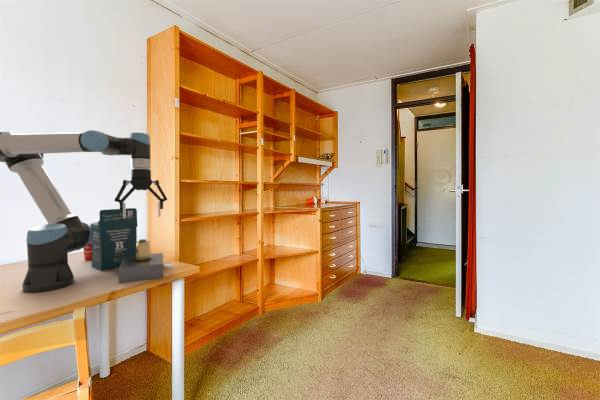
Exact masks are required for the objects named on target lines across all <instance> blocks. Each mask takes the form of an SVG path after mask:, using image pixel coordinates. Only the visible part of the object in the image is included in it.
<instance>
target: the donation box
mask: <svg viewBox="0 0 600 400" xmlns="http://www.w3.org/2000/svg"><path fill="white" fill-rule="evenodd" d="M89 226H90V227H91V228H92V231H93V238H92V260H91V268H93V269H95V270H97V271H99V270H100V272H105V270H106V271H110V270H113V269H114V270H115V268H116V269H119V267H120V265H121V263H122V261H123V259H124V257H125V256H133V255H136V242H138V239H137V238H138V235H137V233H138V232H137V231H138V230H137V228H138V209H137V208H136V207H132V208H130V207H129V208H126V218H123V210H120V208H113V209H112V208H111V209H100V210H99V220H98V221H96V222H92V223H90V225H89Z"/></svg>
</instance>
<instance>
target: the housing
mask: <svg viewBox="0 0 600 400" xmlns="http://www.w3.org/2000/svg"><path fill="white" fill-rule="evenodd" d="M149 255H150V260H149V261H145V262H136V255H133V256H125V257H124V259H123V261H122V263H121V265H120V267H119V268H118V284H123V283H124V284H125V283H133V282H140V281H142V282H143V281H148V280H157V279H164V254H163V252H159V253H149Z"/></svg>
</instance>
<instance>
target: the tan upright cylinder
mask: <svg viewBox="0 0 600 400" xmlns="http://www.w3.org/2000/svg"><path fill="white" fill-rule="evenodd" d="M149 254H150V241H149V240H147V239H145V238H142V239H139V240H138V241H137V242H136V262H145V261H149V260H150V255H149Z"/></svg>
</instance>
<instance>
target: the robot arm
mask: <svg viewBox="0 0 600 400" xmlns="http://www.w3.org/2000/svg"><path fill="white" fill-rule="evenodd" d="M150 139H151V138H150V135H149V134H148V133H144V132H131V133H130V135H129V137H117V136H113V135H110V134H107V133H104V132H103V131H102V132H101V131H99V130H94V129H93V130H91V129H90V130H86V131H84V132H51V133H50V132H47V133H45V132H43V133H14V132H12V131H9V130H7V131H1V130H0V163H1V162H2V163H5V165H6V167H7V168H8V169H9V171H10V172H12V173H15V174H17V175H18V177H19V179H20V180H21V182H22V183H23V185H24V186H25V188H26V190H27V191H28V193H29V194H30V196H31V198H32V200H33V201H34V202H35V204H36V206H37V208H38V209H39V210H40V212H41V214H42V216H43V218H45V220H46V222H47V224H41V225H40V224H39V225H36V226H33V227H31V228H30V229H28V231H27V233H26V240H25V241H26V250H27V268H28V269H27V271H26V274H25V276H24V280H23V282H22V291H23V292H26V293H41V292H49V291H53V290H54V291H55V290H58V289H61V288H62V289H63V288H65V287H68V286H70V285H72V284H73V283H75V276H74V274H73V271H72V269H71V267H70V265H69V262H68V261H69V258H68V256H69V255H68V254H69V253H72V252H75V251H79V250H81V249H83V247H86V246H87V245H88V244H89V243H90V242H91V240H92V238H93V231H92V228H91V226H90V225H89V224H88V223H86V222H83V221H81V219H80V218H79V215H76V214H73V213H72V212H71V211H70V209H69V207H68V206H67V204H66V202H65V201H64V199H63V198H62V196H61V194H60V193H59V191H58V189H57V188H56V186H55V184H54V183H53V182H52V181H53V180H52V179H51V178H50V176H49V175H48V173H47V171H46V170H45V168H44V167H43V165H44V163H45V159H44V155H45V154H65V153H68V154H69V153H101V154H102V155H106V156H130V166H131V167H130V168H131V171H130V173H131V179H130V180H127V179H123V181H122V185H121V187H120V189H119V191H118V193H117V195H116V197H115V198H114V202H117V203H118V204H119V209H120V210H123V218H126V209H127V208H126V202H125V201H126V200H127V198H129V196H131V195H132V193H133V192H134V191H135V190H136V191H147V190H148V191H149V192H151V194H152V195H153V197H155V198H156V199H157V200H158V201H159V202H157V204H158V205H157V207H158V208H157V209H158V217H159V218H160V217H161V210H163V209H164V202H166V201H168V197H167V196H166V194H165V192H164V191H163V189H162V187H161V186H160V182H159V180H152V170H151V168H152V165H151V161H152V160H151V140H150ZM130 184H131V186H132V187H131V188H130V189H129V190H128V191H127V193H125V195H122V194H123V193H124V191H125V189H126V188H127V186H129V185H130ZM153 184H154V186H156V188H157V190H158V191H159V193H160V195H161V196H162V197H160V195H159V194H158V193H157V192H156V191H155V190H154V189H153V188H152V187H151V185H153ZM121 197H122V198H121Z"/></svg>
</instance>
